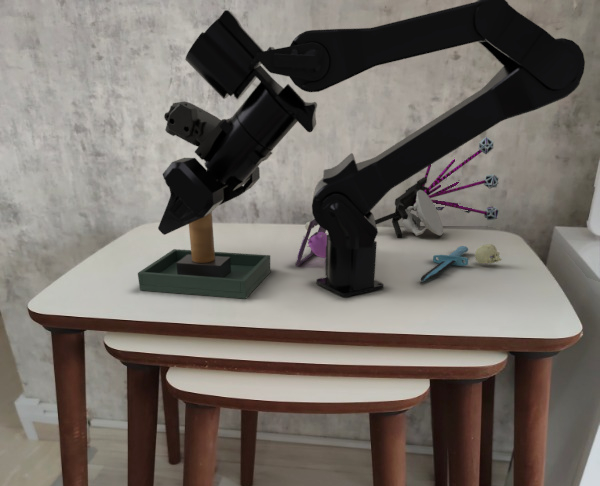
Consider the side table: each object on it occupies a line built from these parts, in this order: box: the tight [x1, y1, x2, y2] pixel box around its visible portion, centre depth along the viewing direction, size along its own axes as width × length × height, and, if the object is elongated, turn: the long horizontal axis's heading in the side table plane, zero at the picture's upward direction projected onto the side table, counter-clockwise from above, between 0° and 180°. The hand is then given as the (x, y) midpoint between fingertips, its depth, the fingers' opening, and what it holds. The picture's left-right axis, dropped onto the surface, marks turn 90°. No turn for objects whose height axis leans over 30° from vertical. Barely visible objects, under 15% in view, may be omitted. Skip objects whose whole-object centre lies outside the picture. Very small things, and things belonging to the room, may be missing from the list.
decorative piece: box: [375, 136, 500, 239], centre depth 104 cm, size 14×14×30 cm
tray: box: [137, 248, 272, 300], centre depth 80 cm, size 14×11×2 cm
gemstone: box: [474, 243, 503, 265], centre depth 85 cm, size 3×4×3 cm
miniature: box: [402, 190, 444, 237], centre depth 100 cm, size 8×8×5 cm
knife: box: [420, 245, 469, 283], centre depth 84 cm, size 17×1×5 cm
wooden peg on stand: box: [176, 212, 231, 278], centre depth 77 cm, size 6×4×11 cm, turn 77°
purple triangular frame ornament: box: [295, 218, 328, 267], centre depth 87 cm, size 7×5×9 cm
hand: (176, 222), depth 78 cm, fingers open, 9 cm apart
